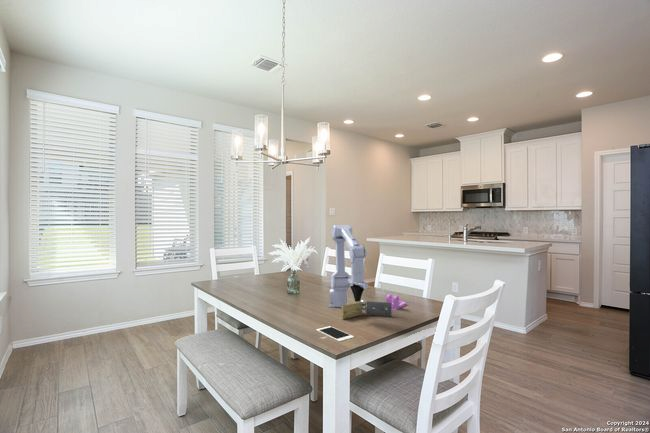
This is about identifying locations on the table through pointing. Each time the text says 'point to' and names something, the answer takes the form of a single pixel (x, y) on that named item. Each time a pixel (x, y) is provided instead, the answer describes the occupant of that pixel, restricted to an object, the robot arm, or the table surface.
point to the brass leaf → (352, 310)
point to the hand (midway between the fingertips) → (357, 301)
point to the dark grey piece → (377, 308)
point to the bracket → (395, 302)
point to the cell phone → (335, 333)
